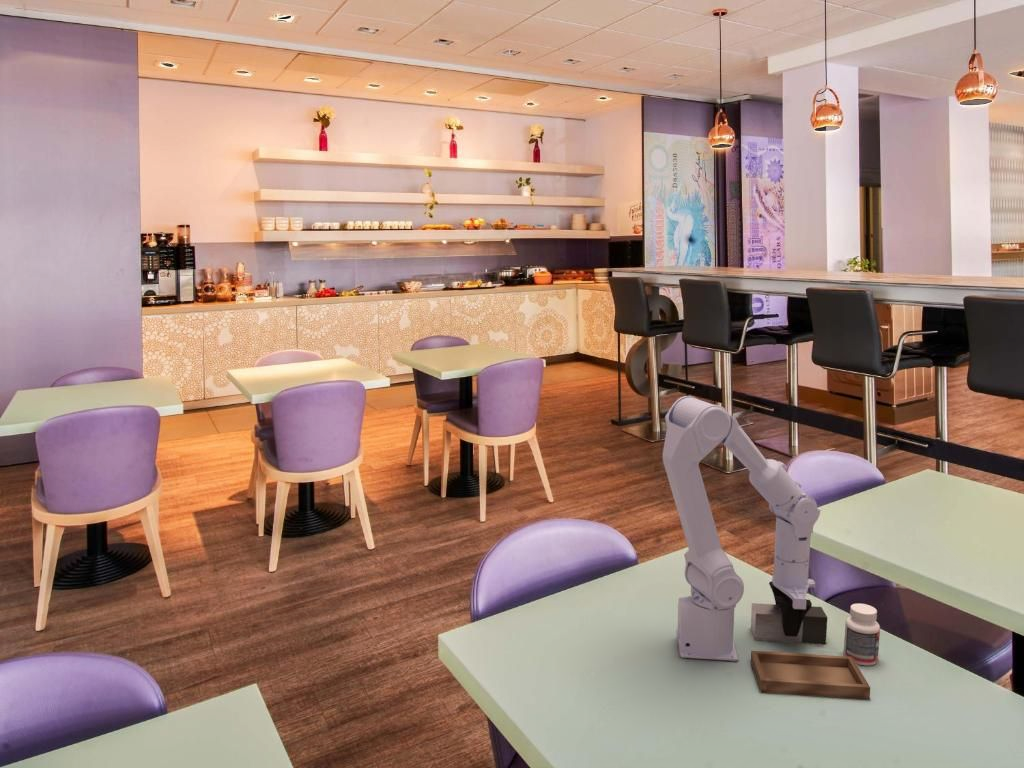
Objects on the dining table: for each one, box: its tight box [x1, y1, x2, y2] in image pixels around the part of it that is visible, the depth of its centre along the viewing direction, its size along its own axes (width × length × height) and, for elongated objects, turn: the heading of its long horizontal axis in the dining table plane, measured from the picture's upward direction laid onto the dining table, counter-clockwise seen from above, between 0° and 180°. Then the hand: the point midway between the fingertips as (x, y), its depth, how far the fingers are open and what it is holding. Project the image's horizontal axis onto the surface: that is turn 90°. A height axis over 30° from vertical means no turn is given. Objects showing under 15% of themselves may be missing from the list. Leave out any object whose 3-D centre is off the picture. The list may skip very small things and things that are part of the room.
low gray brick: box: [750, 602, 828, 645], centre depth 131 cm, size 12×4×5 cm, turn 82°
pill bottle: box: [843, 603, 881, 667], centre depth 123 cm, size 5×5×9 cm
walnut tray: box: [749, 650, 871, 701], centre depth 117 cm, size 16×9×2 cm, turn 82°
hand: (787, 629), depth 131 cm, fingers closed on low gray brick, 4 cm apart
